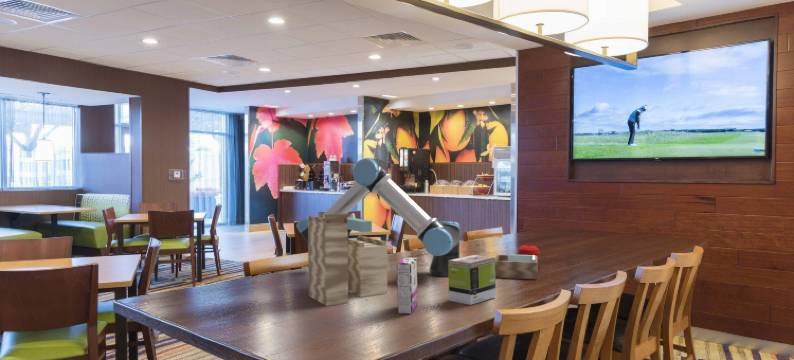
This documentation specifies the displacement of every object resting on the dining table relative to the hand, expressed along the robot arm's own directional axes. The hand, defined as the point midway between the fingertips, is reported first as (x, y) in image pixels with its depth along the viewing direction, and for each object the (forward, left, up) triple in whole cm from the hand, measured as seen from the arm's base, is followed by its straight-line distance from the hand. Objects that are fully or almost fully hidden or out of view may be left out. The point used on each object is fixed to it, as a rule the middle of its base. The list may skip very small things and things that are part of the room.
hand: (348, 216), depth 215 cm
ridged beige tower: (-7, +7, -28) cm, 29 cm away
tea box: (-51, +13, -28) cm, 59 cm away
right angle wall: (-66, -39, -28) cm, 82 cm away
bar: (-2, +2, -5) cm, 5 cm away
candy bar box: (-32, +32, -28) cm, 53 cm away
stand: (-1, +25, -28) cm, 37 cm away
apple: (-69, -57, -28) cm, 94 cm away
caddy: (-64, -37, -28) cm, 79 cm away
